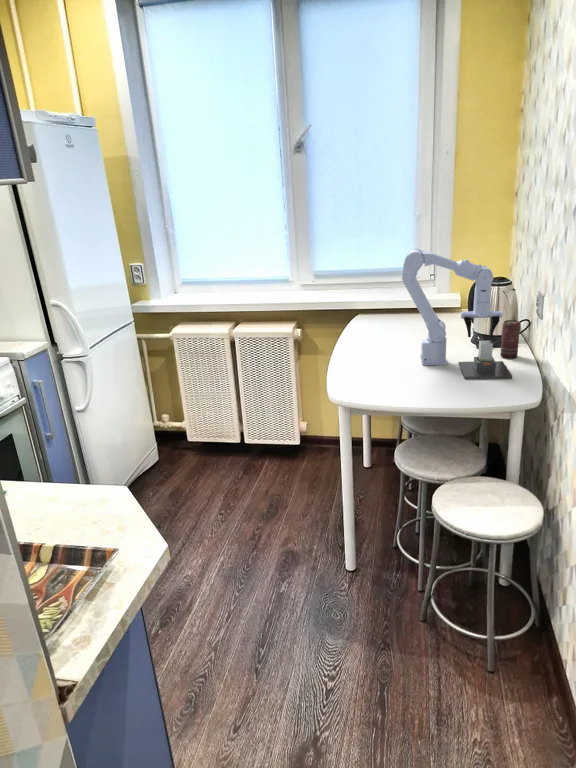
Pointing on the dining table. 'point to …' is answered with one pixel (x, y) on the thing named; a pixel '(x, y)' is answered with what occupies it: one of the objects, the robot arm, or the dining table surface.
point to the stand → (484, 370)
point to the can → (510, 339)
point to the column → (485, 351)
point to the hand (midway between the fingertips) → (479, 336)
